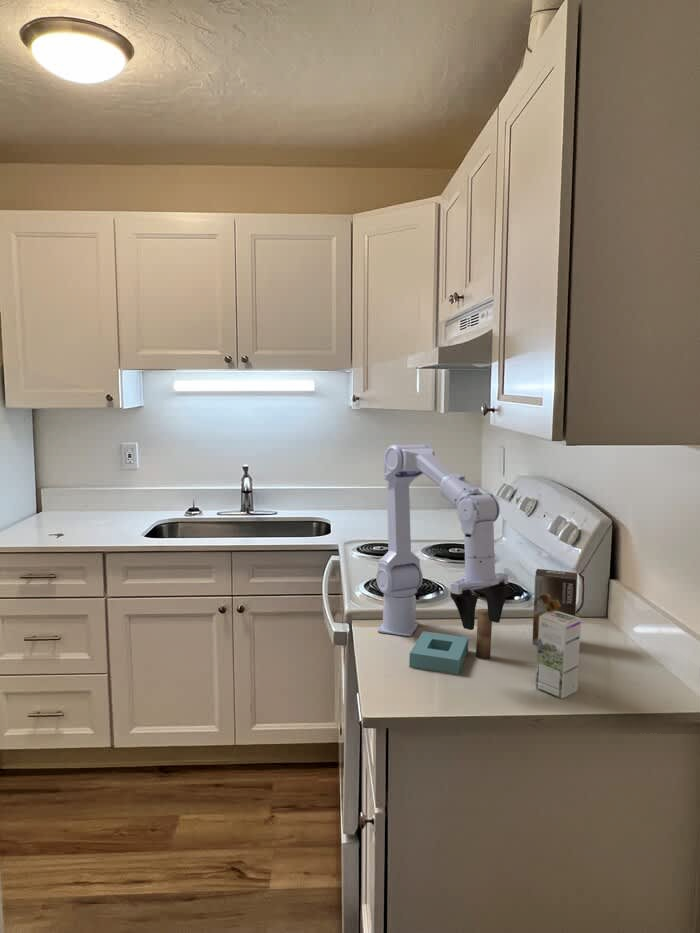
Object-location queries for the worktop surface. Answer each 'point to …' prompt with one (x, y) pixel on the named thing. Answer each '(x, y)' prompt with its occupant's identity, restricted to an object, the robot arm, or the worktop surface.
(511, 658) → the worktop surface
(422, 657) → the hole block
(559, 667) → the syrup box
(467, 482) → the robot arm
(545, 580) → the coffee box
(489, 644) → the walnut peg
